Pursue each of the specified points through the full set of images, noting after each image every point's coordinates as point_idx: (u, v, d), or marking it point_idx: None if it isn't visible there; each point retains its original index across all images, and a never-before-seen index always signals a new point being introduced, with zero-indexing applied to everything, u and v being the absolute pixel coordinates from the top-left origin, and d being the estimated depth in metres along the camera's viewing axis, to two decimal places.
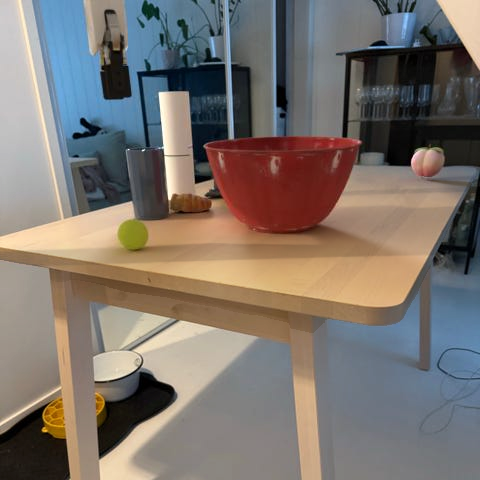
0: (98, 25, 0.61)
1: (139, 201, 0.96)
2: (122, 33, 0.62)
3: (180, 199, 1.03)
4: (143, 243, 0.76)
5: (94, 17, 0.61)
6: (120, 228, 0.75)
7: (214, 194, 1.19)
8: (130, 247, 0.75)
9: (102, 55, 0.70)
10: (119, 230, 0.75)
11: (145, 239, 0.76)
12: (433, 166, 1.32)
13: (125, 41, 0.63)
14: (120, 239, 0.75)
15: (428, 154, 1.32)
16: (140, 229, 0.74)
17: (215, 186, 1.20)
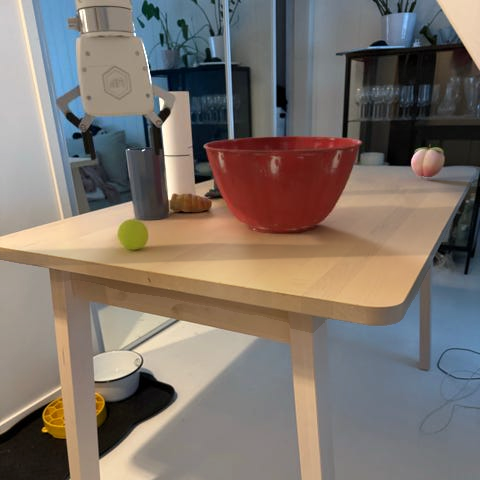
0: (152, 93, 0.68)
1: (139, 201, 0.96)
2: None
3: (180, 199, 1.03)
4: (143, 243, 0.76)
5: (151, 86, 0.67)
6: (120, 228, 0.75)
7: (214, 194, 1.19)
8: (130, 247, 0.75)
9: (95, 115, 0.67)
10: (119, 230, 0.75)
11: (145, 239, 0.76)
12: (433, 166, 1.32)
13: None
14: (120, 239, 0.75)
15: (428, 154, 1.32)
16: (140, 229, 0.74)
17: (215, 186, 1.20)
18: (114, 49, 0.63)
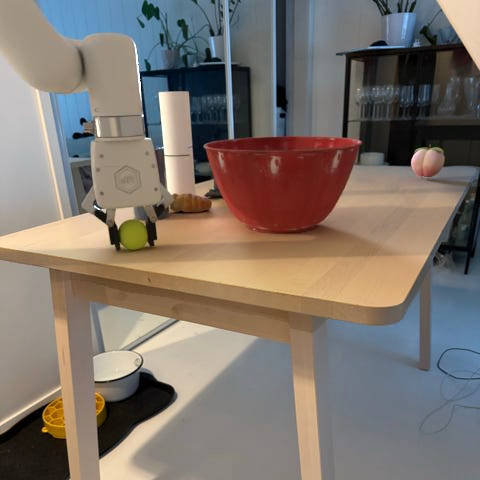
0: (160, 185, 0.73)
1: None
2: None
3: (180, 199, 1.03)
4: (143, 243, 0.76)
5: (159, 180, 0.72)
6: (120, 228, 0.75)
7: (214, 194, 1.19)
8: (130, 247, 0.75)
9: (115, 208, 0.73)
10: (119, 230, 0.75)
11: (145, 239, 0.76)
12: (433, 166, 1.32)
13: None
14: (120, 239, 0.75)
15: (428, 154, 1.32)
16: (140, 229, 0.74)
17: (215, 186, 1.20)
18: (126, 151, 0.68)
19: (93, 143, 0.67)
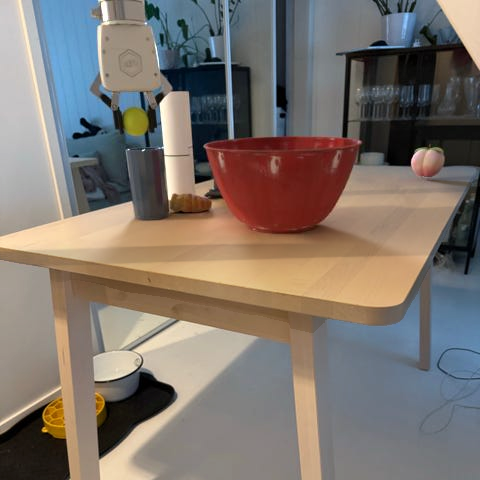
0: (159, 73, 0.81)
1: (139, 201, 0.96)
2: None
3: (180, 199, 1.03)
4: (144, 128, 0.84)
5: None
6: (123, 113, 0.83)
7: (214, 194, 1.19)
8: (132, 131, 0.84)
9: (119, 93, 0.81)
10: (123, 115, 0.83)
11: (146, 125, 0.84)
12: (433, 166, 1.32)
13: None
14: (123, 124, 0.83)
15: (428, 154, 1.32)
16: (141, 114, 0.83)
17: (215, 186, 1.20)
18: (129, 35, 0.77)
19: (99, 27, 0.76)
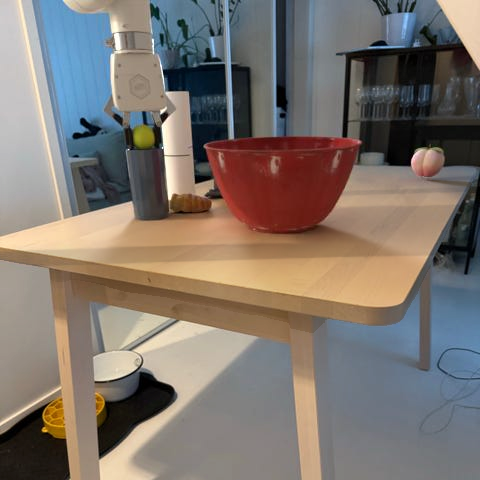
0: (165, 94, 0.91)
1: (139, 201, 0.96)
2: None
3: (180, 199, 1.03)
4: (151, 144, 0.94)
5: None
6: (133, 131, 0.92)
7: (214, 194, 1.19)
8: (141, 147, 0.93)
9: None
10: (132, 132, 0.92)
11: (153, 141, 0.93)
12: (433, 166, 1.32)
13: None
14: (133, 140, 0.93)
15: (428, 154, 1.32)
16: (149, 132, 0.92)
17: (215, 186, 1.20)
18: (138, 62, 0.86)
19: (113, 55, 0.85)
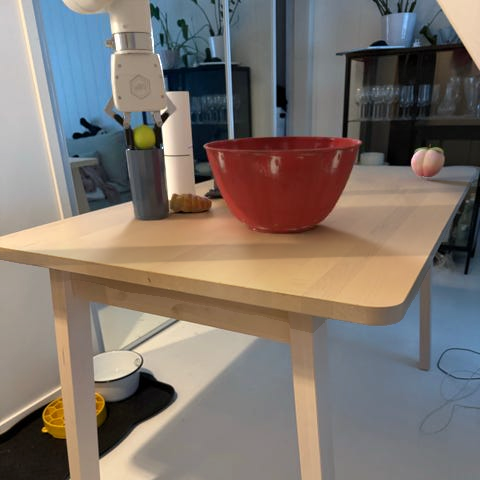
0: (166, 95, 0.91)
1: (139, 201, 0.96)
2: None
3: (180, 199, 1.03)
4: (152, 144, 0.94)
5: (165, 90, 0.90)
6: (133, 131, 0.92)
7: (214, 194, 1.19)
8: (141, 147, 0.93)
9: (130, 113, 0.91)
10: (133, 133, 0.93)
11: (153, 141, 0.93)
12: (433, 166, 1.32)
13: None
14: None
15: (428, 154, 1.32)
16: (149, 132, 0.92)
17: (215, 186, 1.20)
18: (139, 63, 0.86)
19: (113, 55, 0.85)
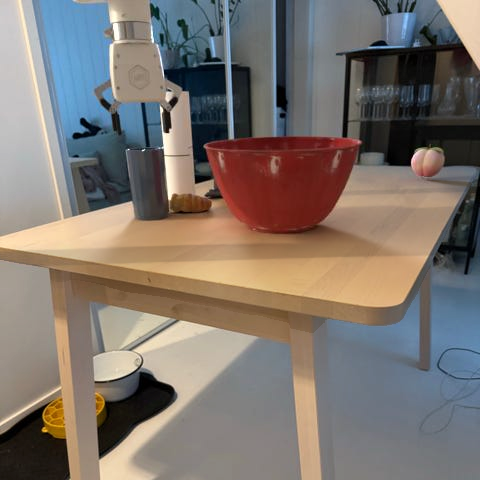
0: (165, 85, 0.90)
1: (139, 201, 0.96)
2: None
3: (180, 199, 1.03)
4: None
5: (164, 80, 0.89)
6: None
7: (214, 194, 1.19)
8: None
9: (122, 101, 0.89)
10: None
11: None
12: (433, 166, 1.32)
13: None
14: None
15: (428, 154, 1.32)
16: None
17: (215, 186, 1.20)
18: (138, 53, 0.86)
19: (112, 45, 0.85)
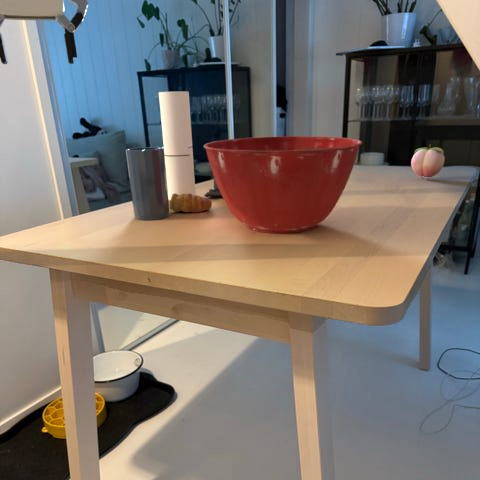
0: None
1: (139, 201, 0.96)
2: None
3: (180, 199, 1.03)
4: None
5: None
6: None
7: (214, 194, 1.19)
8: None
9: (3, 15, 0.67)
10: None
11: None
12: (433, 166, 1.32)
13: (63, 13, 0.71)
14: None
15: (428, 154, 1.32)
16: None
17: (215, 186, 1.20)
18: None
19: None
